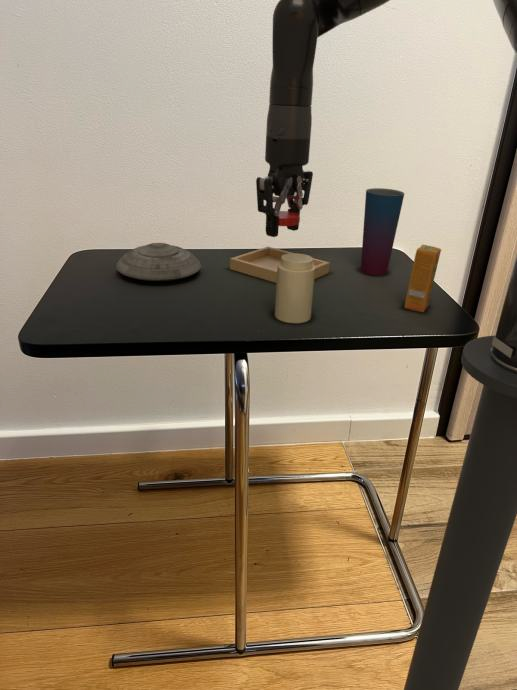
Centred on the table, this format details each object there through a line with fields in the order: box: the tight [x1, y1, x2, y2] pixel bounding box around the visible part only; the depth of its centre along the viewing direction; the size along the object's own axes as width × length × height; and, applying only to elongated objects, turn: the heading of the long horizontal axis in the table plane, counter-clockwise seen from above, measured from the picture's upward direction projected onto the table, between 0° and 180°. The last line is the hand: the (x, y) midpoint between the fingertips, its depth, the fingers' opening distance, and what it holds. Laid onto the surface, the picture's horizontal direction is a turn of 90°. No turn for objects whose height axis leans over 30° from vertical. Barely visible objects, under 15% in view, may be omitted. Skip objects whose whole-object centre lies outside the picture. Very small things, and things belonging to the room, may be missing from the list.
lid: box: [278, 210, 301, 227], centre depth 98 cm, size 6×6×1 cm
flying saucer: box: [115, 242, 202, 282], centre depth 97 cm, size 15×15×6 cm
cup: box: [360, 187, 405, 276], centre depth 101 cm, size 7×7×15 cm
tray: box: [229, 246, 331, 284], centre depth 101 cm, size 15×12×2 cm
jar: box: [274, 252, 316, 324], centre depth 81 cm, size 6×6×9 cm
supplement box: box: [404, 244, 442, 313], centre depth 86 cm, size 3×3×10 cm
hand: (282, 232), depth 99 cm, fingers closed on lid, 5 cm apart
